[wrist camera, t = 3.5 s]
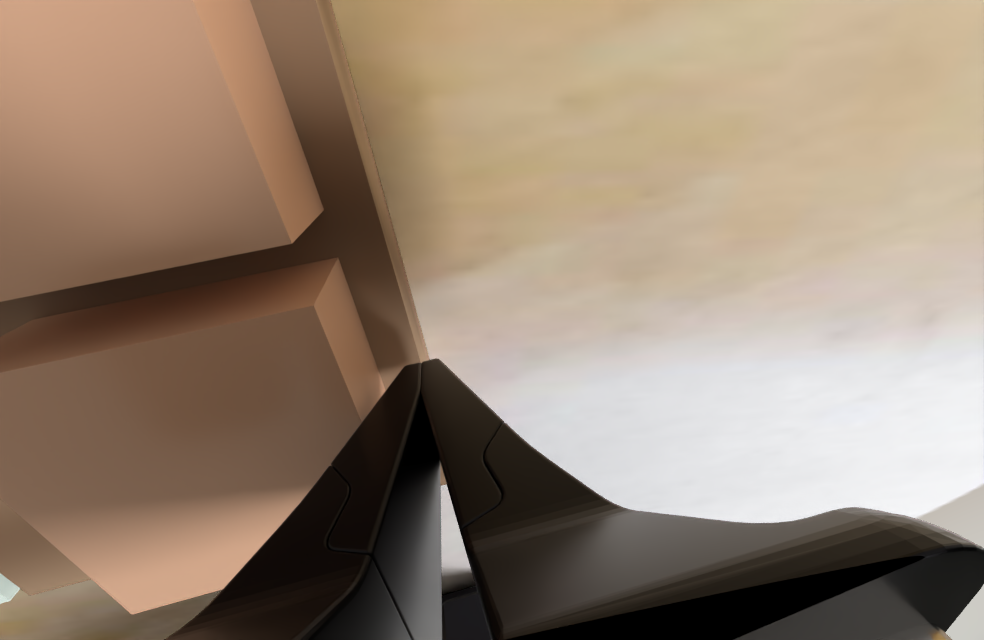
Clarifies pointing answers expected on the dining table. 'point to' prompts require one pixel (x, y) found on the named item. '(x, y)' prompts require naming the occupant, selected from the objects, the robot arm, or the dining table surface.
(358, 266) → the board
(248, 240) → the tile
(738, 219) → the dining table surface
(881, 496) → the dining table surface
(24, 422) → the tile
